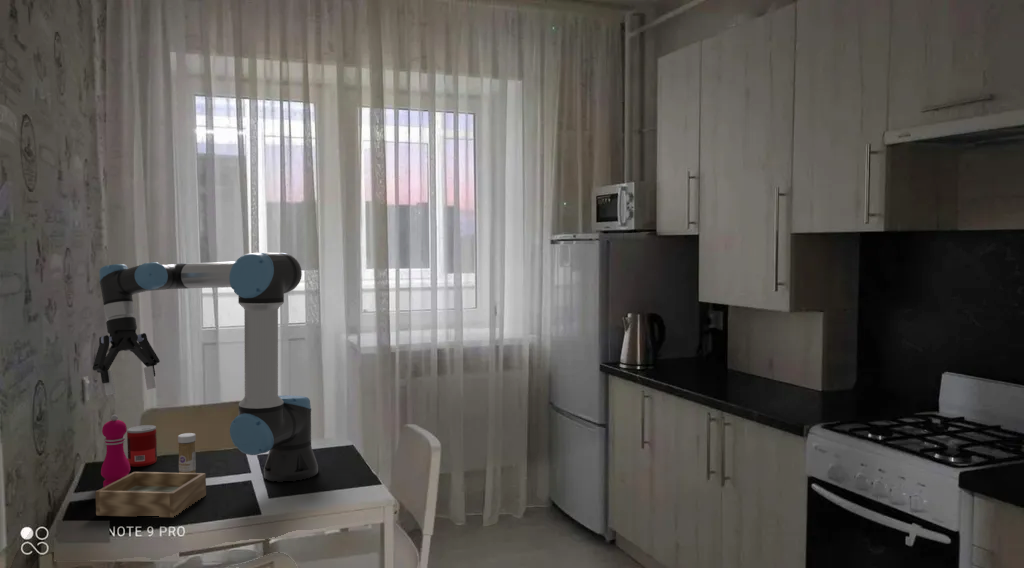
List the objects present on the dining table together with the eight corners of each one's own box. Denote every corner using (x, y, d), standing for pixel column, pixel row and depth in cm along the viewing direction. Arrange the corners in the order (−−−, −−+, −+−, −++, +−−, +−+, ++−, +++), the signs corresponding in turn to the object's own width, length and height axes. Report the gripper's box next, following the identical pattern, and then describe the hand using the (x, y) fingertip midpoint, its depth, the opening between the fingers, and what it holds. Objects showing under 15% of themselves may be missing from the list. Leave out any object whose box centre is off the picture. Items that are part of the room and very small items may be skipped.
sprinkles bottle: (176, 484, 204) (174, 436, 203) (182, 478, 209) (181, 432, 208) (192, 483, 204) (191, 436, 204) (199, 478, 209) (198, 432, 208)
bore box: (206, 495, 195) (205, 473, 194) (173, 517, 179) (173, 493, 178) (134, 493, 196) (133, 471, 196) (96, 515, 180) (95, 491, 180)
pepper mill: (118, 490, 198) (115, 418, 197) (95, 489, 200) (92, 417, 199) (136, 482, 206) (134, 412, 205) (114, 480, 207) (112, 411, 206)
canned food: (162, 461, 225) (161, 426, 225) (137, 468, 219) (136, 432, 218) (148, 458, 229) (147, 423, 229) (123, 464, 223) (121, 429, 222)
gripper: (147, 319, 222) (158, 388, 220) (71, 322, 199) (82, 399, 197) (165, 314, 219) (176, 384, 217) (90, 317, 196) (101, 395, 194)
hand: (131, 391), depth 207 cm, fingers open, 13 cm apart
